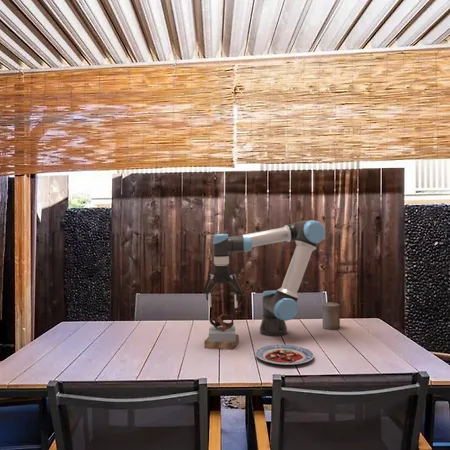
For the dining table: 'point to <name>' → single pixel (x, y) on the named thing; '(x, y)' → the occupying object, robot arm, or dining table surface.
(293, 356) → the ceramic plate
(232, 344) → the base slab
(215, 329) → the top slab
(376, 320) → the dining table surface
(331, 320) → the pillar candle
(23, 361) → the dining table surface
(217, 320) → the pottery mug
